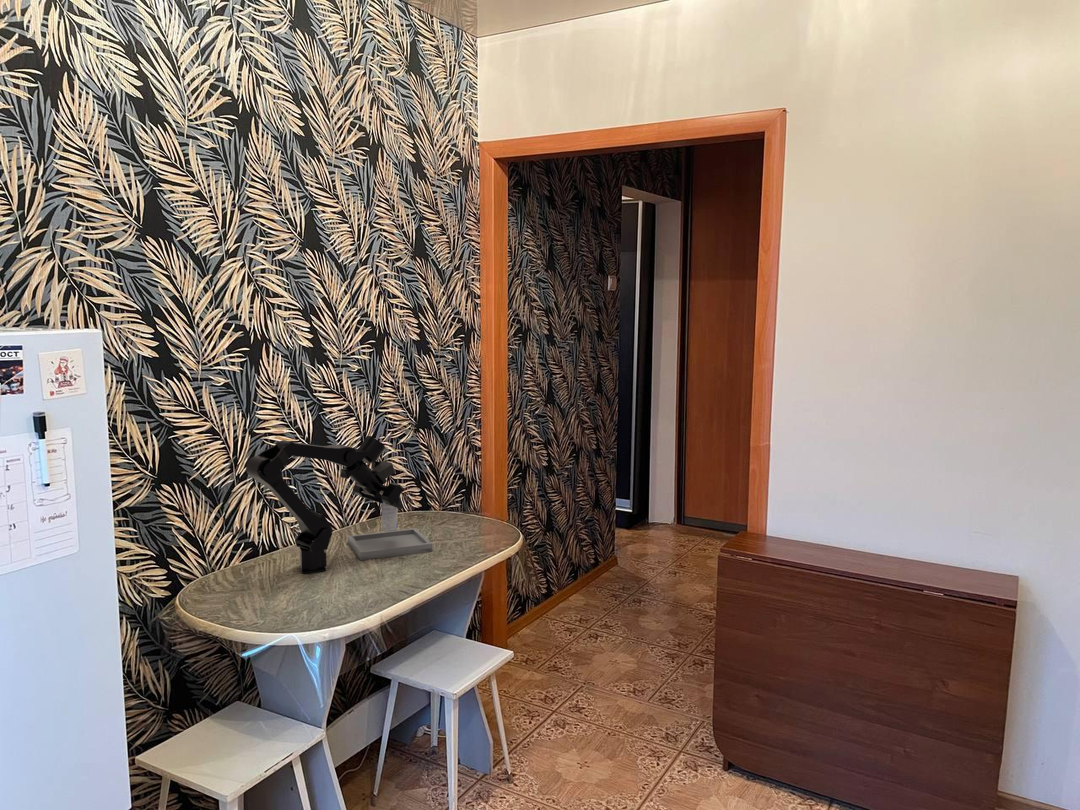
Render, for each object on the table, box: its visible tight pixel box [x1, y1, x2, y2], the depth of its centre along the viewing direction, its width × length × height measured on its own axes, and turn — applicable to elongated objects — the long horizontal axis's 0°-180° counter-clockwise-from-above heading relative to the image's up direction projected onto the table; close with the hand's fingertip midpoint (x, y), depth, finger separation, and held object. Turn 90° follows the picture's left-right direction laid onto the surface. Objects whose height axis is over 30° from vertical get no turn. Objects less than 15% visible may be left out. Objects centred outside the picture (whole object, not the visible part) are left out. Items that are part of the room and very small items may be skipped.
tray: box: [347, 527, 433, 561], centre depth 234 cm, size 22×18×2 cm
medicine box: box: [381, 502, 399, 532], centre depth 232 cm, size 8×4×9 cm, turn 8°
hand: (393, 505), depth 233 cm, fingers closed on medicine box, 8 cm apart
